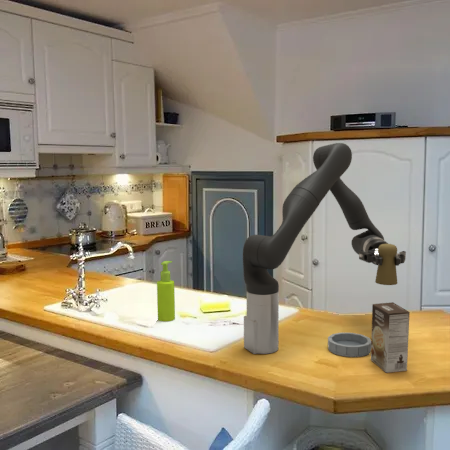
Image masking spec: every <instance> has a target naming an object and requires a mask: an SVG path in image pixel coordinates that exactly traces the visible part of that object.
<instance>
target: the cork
mask: <svg viewBox="0 0 450 450" xmlns="http://www.w3.org/2000/svg"><path fill="white" fill-rule="evenodd" d="M378 253H379V255H380V256H381V257H382V265H377V270H376V276H375V281H374V283H376V284H377V285H383V286H395V285H398V276H397V266H396V265H395V256H396V254H397V253H398V247H397V245H395V244H392V243H388V244H381V245H380V246H379V247H378Z"/></svg>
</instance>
